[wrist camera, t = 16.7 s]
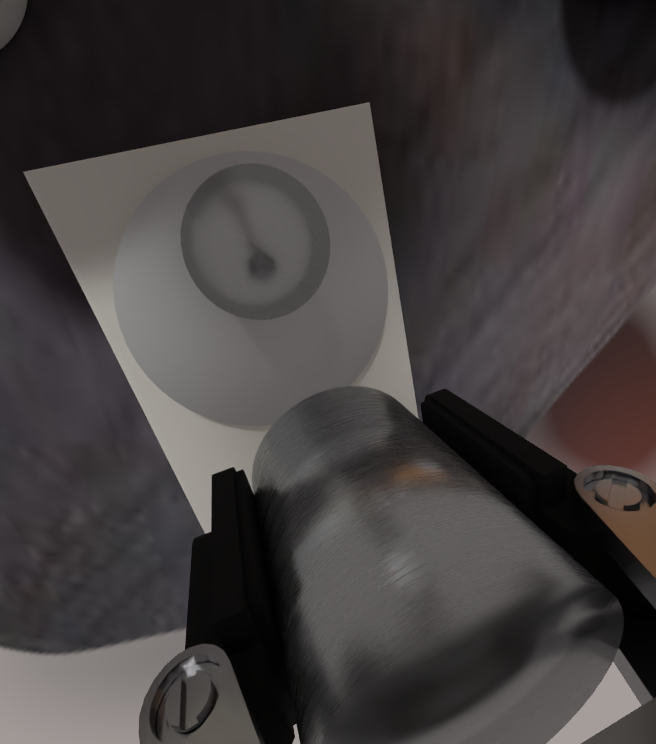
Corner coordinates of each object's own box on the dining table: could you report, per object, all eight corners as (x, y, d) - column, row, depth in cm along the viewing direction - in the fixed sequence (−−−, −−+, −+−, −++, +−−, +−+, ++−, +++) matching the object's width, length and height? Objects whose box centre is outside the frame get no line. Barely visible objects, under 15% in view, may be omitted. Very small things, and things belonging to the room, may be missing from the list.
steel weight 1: (174, 202, 16) (154, 182, 11) (280, 177, 17) (311, 148, 12) (213, 309, 18) (212, 337, 13) (306, 282, 19) (343, 298, 14)
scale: (51, 182, 18) (10, 167, 14) (349, 120, 21) (377, 94, 17) (209, 511, 27) (209, 553, 23) (404, 435, 29) (431, 462, 26)
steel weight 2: (210, 482, 9) (219, 826, 4) (353, 348, 9) (561, 517, 4) (329, 559, 12) (436, 840, 6) (444, 453, 11) (652, 649, 6)
